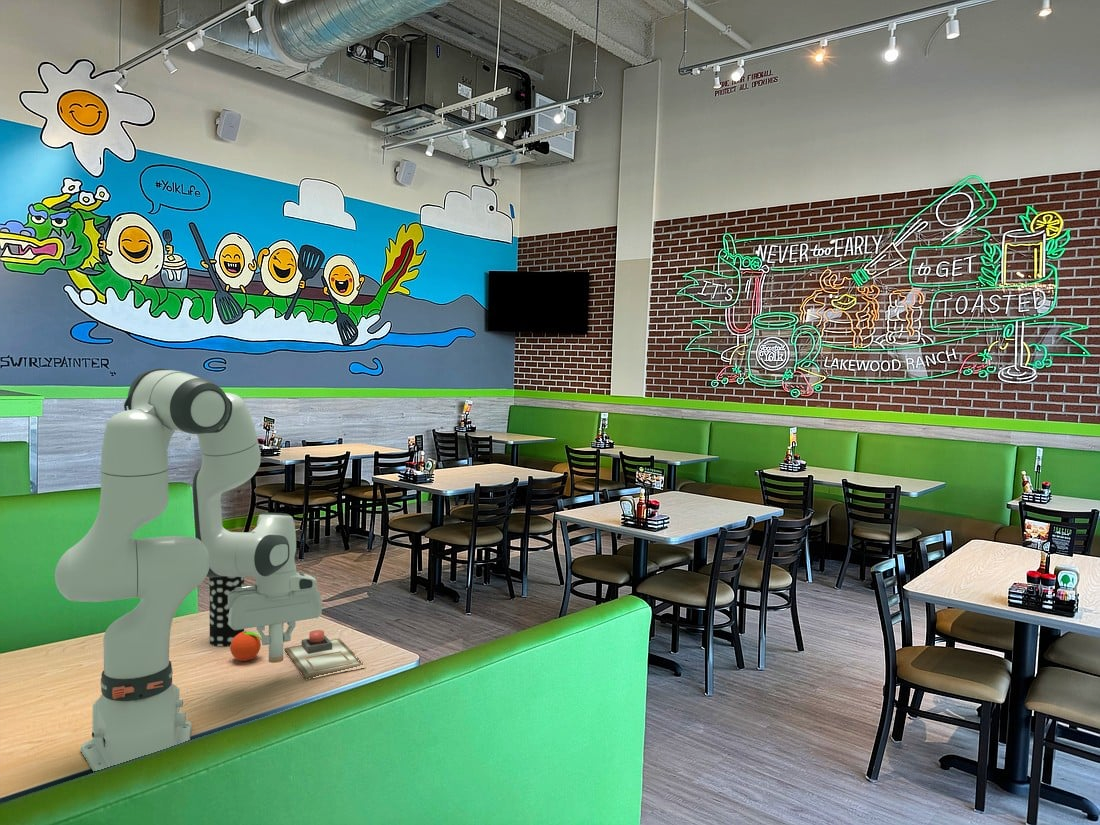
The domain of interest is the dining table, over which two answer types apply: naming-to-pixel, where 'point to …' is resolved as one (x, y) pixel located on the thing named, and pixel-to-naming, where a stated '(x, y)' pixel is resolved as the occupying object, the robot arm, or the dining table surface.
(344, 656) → the board
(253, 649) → the clementine
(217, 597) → the spotted tube
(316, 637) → the button
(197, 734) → the dining table surface
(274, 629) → the cylinder
